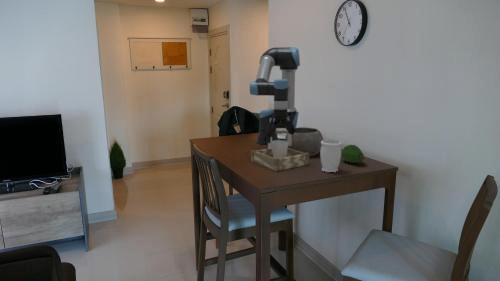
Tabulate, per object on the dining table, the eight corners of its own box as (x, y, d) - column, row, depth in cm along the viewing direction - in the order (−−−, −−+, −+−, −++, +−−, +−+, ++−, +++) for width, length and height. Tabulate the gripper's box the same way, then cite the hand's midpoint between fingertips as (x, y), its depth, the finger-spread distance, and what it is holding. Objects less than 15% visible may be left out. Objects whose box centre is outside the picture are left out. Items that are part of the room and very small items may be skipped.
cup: (287, 164, 184) (288, 144, 182) (269, 163, 186) (269, 143, 184) (289, 159, 194) (289, 140, 192) (271, 158, 196) (272, 139, 193)
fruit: (368, 166, 185) (369, 148, 183) (351, 167, 182) (353, 149, 180) (352, 159, 199) (354, 142, 197) (337, 160, 197) (338, 143, 194)
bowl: (280, 150, 220) (280, 127, 217) (313, 148, 225) (314, 125, 222) (291, 159, 198) (292, 133, 195) (328, 157, 203) (330, 132, 200)
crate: (282, 155, 206) (282, 145, 204) (309, 164, 187) (309, 153, 186) (250, 161, 193) (250, 150, 192) (275, 171, 175) (276, 159, 173)
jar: (317, 167, 182) (318, 139, 178) (336, 167, 182) (337, 139, 179) (322, 173, 171) (324, 144, 168) (343, 173, 172) (344, 144, 169)
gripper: (293, 106, 194) (292, 143, 198) (257, 109, 180) (257, 148, 185) (302, 107, 188) (301, 145, 192) (266, 110, 174) (265, 151, 179)
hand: (279, 147), depth 188 cm, fingers open, 13 cm apart
